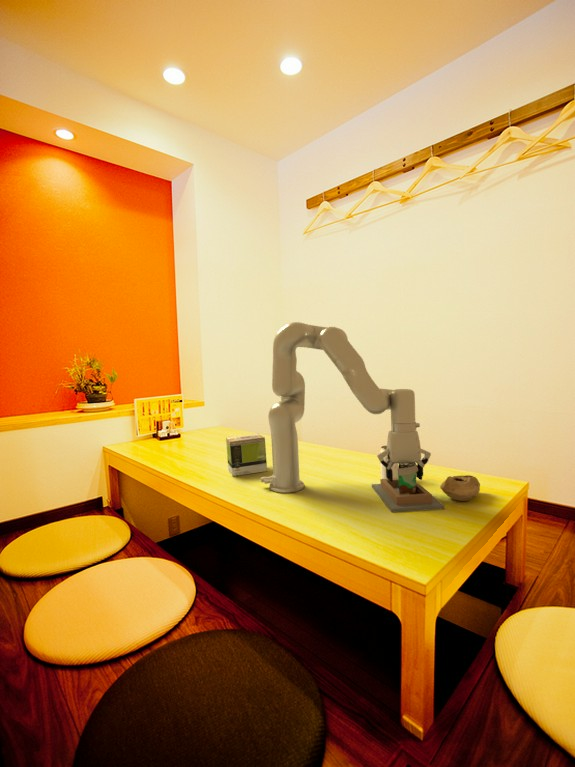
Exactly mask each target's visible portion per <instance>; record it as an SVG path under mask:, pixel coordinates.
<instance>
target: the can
mask: <svg viewBox="0 0 575 767" xmlns="http://www.w3.org/2000/svg"><path fill="white" fill-rule="evenodd" d="M385 450H387V445H382V446H380V451H379V454H380V453H382V452H384V451H385ZM383 459H384V461H385V462H387V461H388V459H387V456H385V457H384V458H383ZM379 464H380V467H379V468H380V478H381V479H388V478H387V477H386V467H385V466H384V465H382V464H381V463H380V462H379ZM398 467H399V463H394V465H393V466H392V467H391V469H392V475H393V479H394V478H398Z"/></svg>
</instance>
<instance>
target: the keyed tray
mask: <svg viewBox="0 0 575 767" xmlns="http://www.w3.org/2000/svg"><path fill="white" fill-rule="evenodd" d="M371 489H373V491H374V492H375V493H376V495H377V496H378V497H379V498H380V499H381V501H382V502H383V503H384V505H385V506H386V507H387V509H388V510H389V511H390V512H391V513H398V512H403V513H404V512H415V511H417V512H419V511H431V510H432V511H433V510H445V504H443V503H442V502H441V501H439V500H438V499H437V498H436V497H435V496H433V494H432V493H431V492H430V491H429V490H427V489H426V488H425V487H423V485H421V484H420V483H419V482H417V481H416V494H409V495H400V492H399V480H398V478H394V479H393V481H392V482H390V481H389V480H388V479H382V478H381V479H380V483H373V484H371Z"/></svg>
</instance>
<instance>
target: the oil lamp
mask: <svg viewBox="0 0 575 767" xmlns="http://www.w3.org/2000/svg"><path fill="white" fill-rule="evenodd" d="M439 487H440V488H439V489H441V491H442V492H443V493H444V494H445V495H446V496H447V497H449V498H450V499H451V500H454V501H460V502H461V501H462V502H465V501H466V502H467V501H470V500H471V499H472V498H474V497H475V496H477V495H479V493H480V489H481V488H480V487H481V483H480V481H479V480H478V478H477V476H474V475H470V474H467V475H462V474H461V475H454V476H450V475H449V476H447V478H446V479H445V480H444V481H443V482H442V483H441V484H440V486H439Z"/></svg>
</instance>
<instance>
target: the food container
mask: <svg viewBox="0 0 575 767" xmlns="http://www.w3.org/2000/svg"><path fill="white" fill-rule="evenodd" d="M417 471H418V467H417V463H416V462H413V463H398V480H399V492H400V495H409V494H416V482H417V477H416V472H417Z"/></svg>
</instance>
